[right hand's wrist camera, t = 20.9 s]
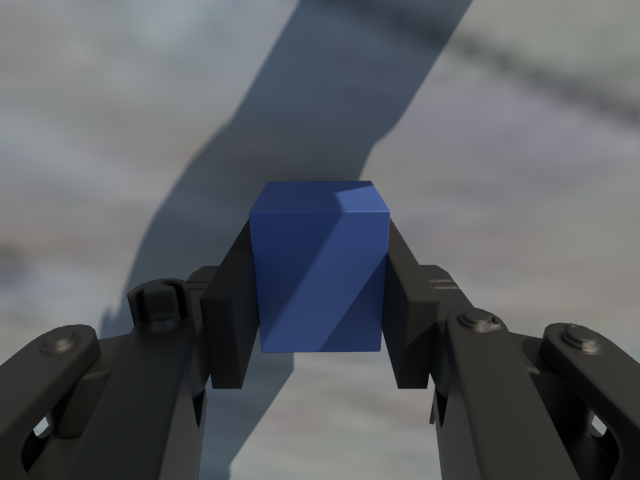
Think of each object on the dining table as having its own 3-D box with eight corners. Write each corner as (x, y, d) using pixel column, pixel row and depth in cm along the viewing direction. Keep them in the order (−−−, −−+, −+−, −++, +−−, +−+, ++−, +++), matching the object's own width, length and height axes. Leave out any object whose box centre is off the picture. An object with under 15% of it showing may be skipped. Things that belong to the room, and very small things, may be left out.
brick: (371, 180, 14) (390, 210, 10) (366, 291, 16) (380, 352, 12) (267, 181, 14) (248, 212, 10) (275, 292, 16) (261, 353, 12)
